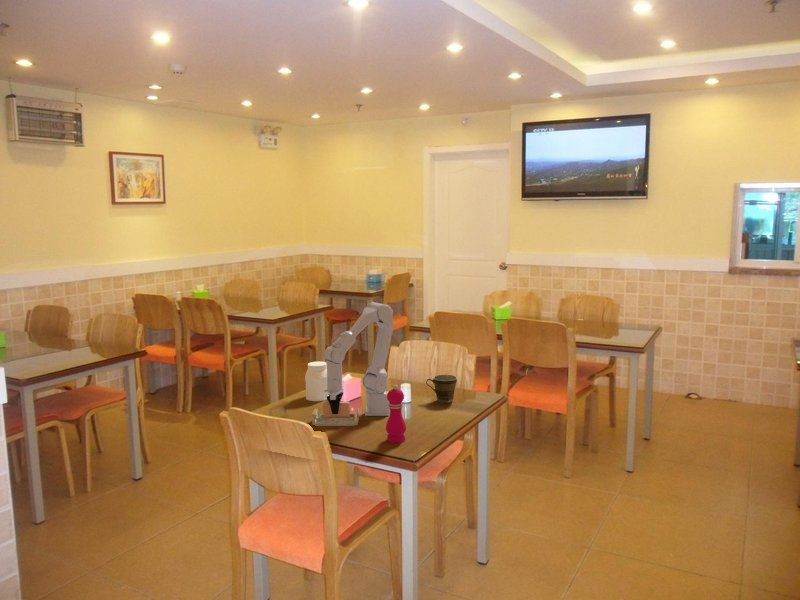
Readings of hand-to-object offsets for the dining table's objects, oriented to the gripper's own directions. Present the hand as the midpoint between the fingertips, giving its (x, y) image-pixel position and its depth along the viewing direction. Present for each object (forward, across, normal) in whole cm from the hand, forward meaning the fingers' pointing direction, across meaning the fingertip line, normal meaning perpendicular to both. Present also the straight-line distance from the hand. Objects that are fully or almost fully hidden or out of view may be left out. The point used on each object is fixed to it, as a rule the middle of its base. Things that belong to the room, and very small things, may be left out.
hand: (335, 412), depth 248 cm
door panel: (+3, 0, 0) cm, 3 cm away
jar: (+4, -33, -12) cm, 35 cm away
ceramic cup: (+4, -27, +42) cm, 50 cm away
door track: (+4, 0, 0) cm, 4 cm away
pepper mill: (+4, +19, +24) cm, 30 cm away
